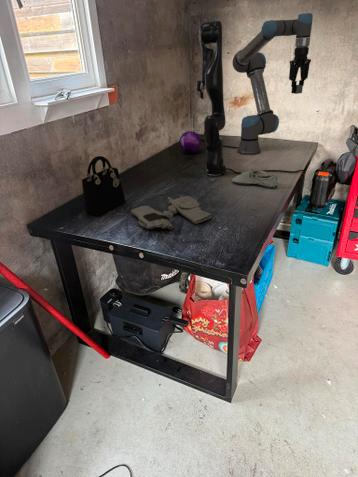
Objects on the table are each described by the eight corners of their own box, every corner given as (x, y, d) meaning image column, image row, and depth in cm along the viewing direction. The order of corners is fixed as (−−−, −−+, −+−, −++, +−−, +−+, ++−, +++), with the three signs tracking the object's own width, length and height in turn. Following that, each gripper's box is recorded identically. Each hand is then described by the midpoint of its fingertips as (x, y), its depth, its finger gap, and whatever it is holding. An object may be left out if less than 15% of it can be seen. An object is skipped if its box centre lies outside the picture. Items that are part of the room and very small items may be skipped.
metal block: (296, 92, 196) (297, 84, 194) (302, 93, 193) (303, 85, 191) (291, 93, 195) (292, 85, 193) (296, 93, 192) (297, 85, 189)
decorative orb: (204, 151, 235) (204, 129, 228) (194, 156, 225) (193, 134, 217) (186, 149, 243) (186, 128, 235) (175, 154, 232) (174, 132, 224)
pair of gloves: (147, 237, 131) (146, 225, 129) (129, 213, 152) (128, 202, 149) (214, 220, 141) (214, 209, 138) (188, 199, 162) (188, 189, 159)
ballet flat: (235, 178, 184) (236, 165, 180) (279, 184, 173) (281, 170, 169) (230, 183, 177) (230, 169, 173) (275, 190, 166) (276, 175, 163)
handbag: (98, 217, 149) (87, 164, 137) (84, 214, 154) (72, 161, 141) (127, 201, 164) (120, 151, 152) (113, 198, 169) (105, 149, 156)
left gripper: (216, 67, 200) (215, 96, 209) (194, 69, 196) (195, 98, 204) (221, 68, 194) (221, 97, 202) (199, 69, 190) (200, 100, 198)
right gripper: (309, 46, 188) (303, 90, 200) (284, 48, 183) (280, 93, 194) (319, 45, 182) (312, 91, 194) (294, 47, 176) (289, 94, 188)
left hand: (208, 98), depth 203 cm, fingers open, 8 cm apart
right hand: (296, 92), depth 194 cm, fingers closed on metal block, 4 cm apart
